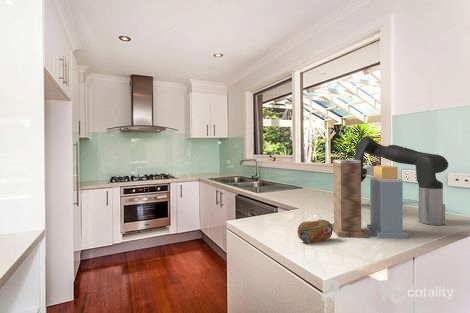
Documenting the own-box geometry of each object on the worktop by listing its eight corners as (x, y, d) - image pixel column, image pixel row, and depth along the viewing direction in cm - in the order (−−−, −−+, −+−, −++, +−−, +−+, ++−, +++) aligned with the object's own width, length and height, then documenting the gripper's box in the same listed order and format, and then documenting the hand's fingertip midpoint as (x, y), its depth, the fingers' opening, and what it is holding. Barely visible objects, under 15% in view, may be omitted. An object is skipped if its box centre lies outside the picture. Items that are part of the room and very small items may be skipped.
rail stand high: (355, 228, 111) (354, 159, 110) (366, 237, 99) (365, 160, 98) (330, 227, 112) (330, 159, 112) (338, 237, 101) (337, 161, 100)
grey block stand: (392, 229, 109) (392, 176, 108) (408, 238, 97) (407, 179, 96) (366, 228, 110) (366, 176, 110) (379, 238, 98) (378, 179, 98)
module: (377, 174, 117) (377, 164, 117) (397, 179, 99) (397, 167, 99) (364, 174, 118) (364, 164, 118) (382, 179, 100) (382, 167, 100)
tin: (300, 244, 94) (300, 223, 93) (296, 241, 97) (296, 221, 96) (333, 240, 98) (333, 219, 97) (328, 237, 101) (328, 217, 100)
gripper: (342, 171, 140) (350, 158, 126) (367, 171, 138) (379, 158, 124) (344, 183, 136) (353, 171, 122) (370, 183, 135) (382, 171, 120)
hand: (366, 164), depth 123 cm, fingers open, 8 cm apart
